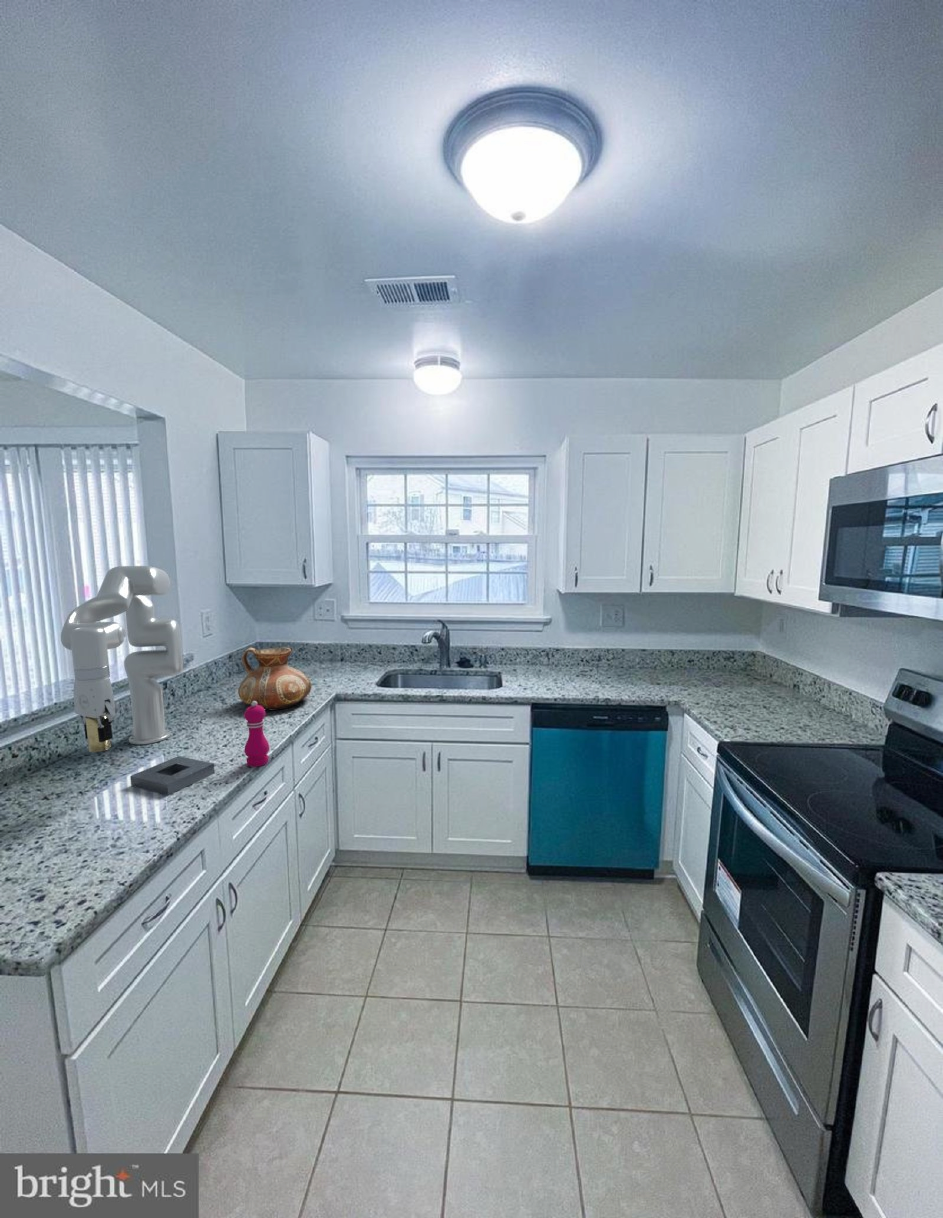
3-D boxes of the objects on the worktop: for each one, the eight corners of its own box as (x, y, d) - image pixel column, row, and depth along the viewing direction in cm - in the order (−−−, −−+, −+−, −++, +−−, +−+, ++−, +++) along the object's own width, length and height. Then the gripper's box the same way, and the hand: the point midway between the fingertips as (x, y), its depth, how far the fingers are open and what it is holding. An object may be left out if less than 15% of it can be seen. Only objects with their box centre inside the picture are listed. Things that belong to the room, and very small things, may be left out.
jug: (298, 690, 243) (296, 638, 240) (324, 704, 220) (322, 647, 217) (231, 702, 224) (227, 646, 221) (252, 719, 201) (248, 657, 198)
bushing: (84, 750, 137) (81, 718, 136) (103, 744, 142) (100, 712, 140) (96, 753, 135) (93, 720, 134) (114, 746, 140) (111, 714, 138)
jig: (131, 786, 145) (130, 775, 145) (179, 765, 159) (178, 756, 158) (168, 795, 139) (167, 784, 139) (214, 773, 153) (213, 763, 153)
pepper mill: (243, 768, 156) (239, 705, 153) (247, 759, 163) (243, 698, 160) (268, 766, 158) (265, 703, 155) (271, 756, 165) (268, 696, 162)
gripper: (56, 673, 135) (64, 739, 138) (98, 680, 129) (105, 748, 131) (86, 667, 142) (93, 729, 145) (127, 673, 136) (133, 738, 138)
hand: (99, 738), depth 138 cm, fingers closed on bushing, 4 cm apart
